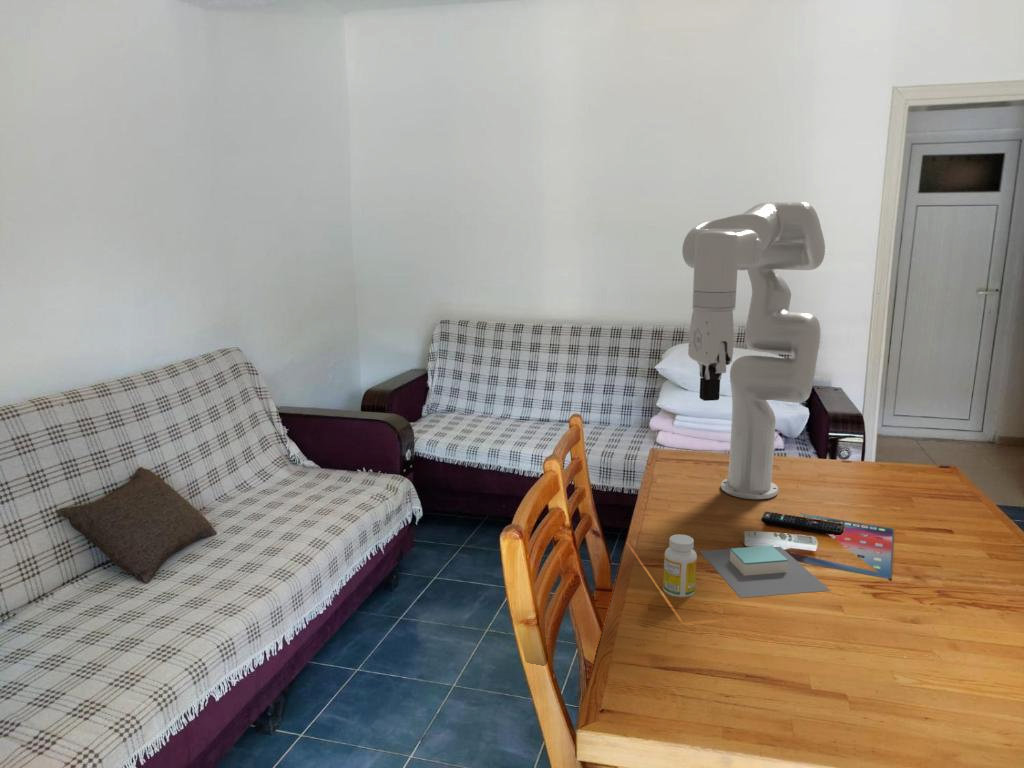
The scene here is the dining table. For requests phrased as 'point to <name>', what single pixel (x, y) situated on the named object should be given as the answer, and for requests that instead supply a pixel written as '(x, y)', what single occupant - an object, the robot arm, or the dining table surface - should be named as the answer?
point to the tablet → (859, 548)
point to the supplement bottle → (680, 566)
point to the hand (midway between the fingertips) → (709, 399)
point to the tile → (758, 560)
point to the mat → (764, 577)
